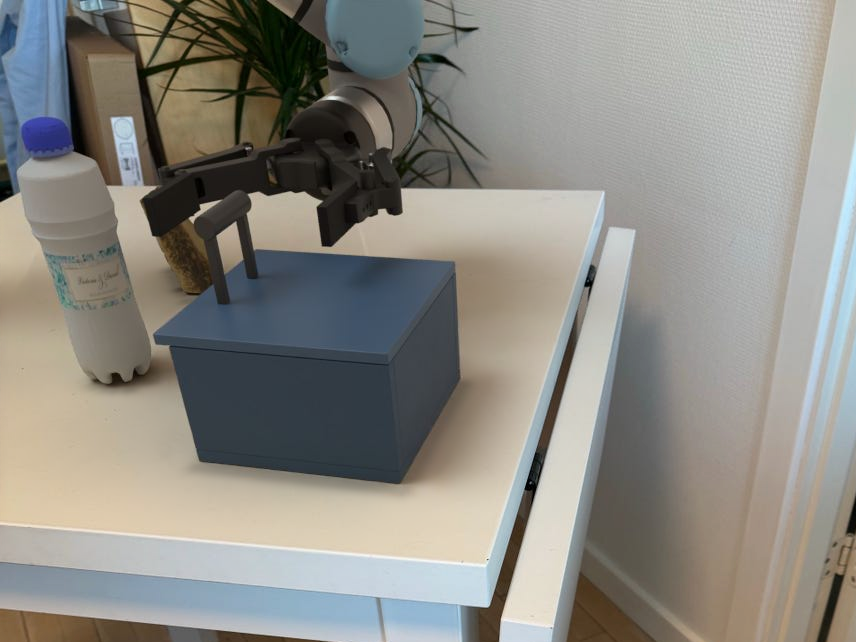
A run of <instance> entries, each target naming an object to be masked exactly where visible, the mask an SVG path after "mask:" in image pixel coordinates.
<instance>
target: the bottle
mask: <svg viewBox="0 0 856 642" xmlns="http://www.w3.org/2000/svg"><path fill="white" fill-rule="evenodd" d="M20 134H21V139H22V141H23V145H24V148H25V151H26V154H27V155H28V156H30V158H29V159H28V160H26V161H25V162H24V163H23V164H21V166H19V167H18V169H17V171H16V176H17V177H16V178H17V182H18V186H19V191H20V196H21V203H22V208H23V212H24V217H25V219H26V220H27V222H28V224H29V226H30V229H31V231H30V232H31V234H32V236H33V237H34V238H35V239H36V240H37V241H38V242H39V244H40V247H41V250H42V253H43V257H44V260H45V261H46V265H47V268H48V272H49V274H50V277H51V280H52V283H53V286H54V289H55V292H56V294H57V298H58V301H59V304H60V306H61V309H62V312H63V316H64V319H65V323H66V327H67V331H68V336H69V339H70V343H71V346H72V349H73V352H74V355H75V358H76V360H77V363H78V365H79V367H80V368H81V370H82V372H83V373H84V374H85V375H86V376H87V377H88V378H89V379H92V380H98V381H100V382H101V383H102V384H107V385H108V384H112V382H113V376H112V375H113V374H115V373H117V374H118V375H120V377H121V379H122V381H123V382H125V383H127V382H130V381H132V380H133V377H134V370H135V372H136V373H137V374H138V375H141V376H142V375H145V374H146V373H147V372H148V371H149V370H150V365H151V359H152V345H151V340H150V337H149V334H148V330H147V328H146V327H147V326H146V324H145V321H144V319H143V315H142V313H141V310H140V307H139V305H138V303H137V299H136V296H135V292H134V289H133V285H132V281H131V278H130V273H129V270H128V266H127V263H126V260H125V256H124V252H123V248H122V246H121V242H120V238H119V236H118V235H119V234H118V225H119V219H118V217H117V216H116V209H115V202H114V200H113V198H112V196H111V193H110V191H109V188H108V185H107V184H106V181H105V179H104V176H103V173H102V171H101V169H100V166H99V164H98V162H97V161H96V160H95V159H93V158H91V157H90V156H89V157H88V156H86V155H83V154H81V153H79V152H76V151H74V150H75V146H74V142H73V139H72V136H71V132H70V130H69V128H68V126H67V123H65V122H64V121H63V120H62V119H60V118H57V117H53V116H38V117H34V118H31V119H28V120H26V121H25V122H24V123H22V126H21V128H20Z"/></svg>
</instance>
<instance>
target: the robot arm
mask: <svg viewBox="0 0 856 642" xmlns="http://www.w3.org/2000/svg"><path fill="white" fill-rule="evenodd" d="M266 1H267V2H269V4H271V5H273V6H274V7H275V8H277V9H278V10H280V11H281V12H282V13H284V15H286V16H288V18H290V19H291V20H293V21H294V22H295V23H297V24H298V25H299V26H300V27H302V28H303V29H304V30H305V31H307V32H308V33H309V34H311V35H312V36H313V37H315V38H316V39H318V40H319V41H320V42H321V43H323V44H324V45H325V52H326V64H327V72H328V80H329V89H330V92H329V93H327V94H326V95H323V96H322V97H321V98H319V99H318V100H316V102H314V103H312V104H310V105H309V106H307V107H306V108H304V109H302V110H301V111H299V112H298V113H296V115H294V116H293V118H292V119H291V120H290V122H289V123H288V125H287V127H286V130H285V133H284V136H283V138H282V139H281V140H280V141H279V142H278V143H277V144H271V145H267V146H261V147H256V148H254V142H251V141H247V140H245V141H242V142H241V143H239V144H236V145H234V146H232V147H230V148H227V149H224V150H220V151H216V152H213V153H209V154H205V155H202V156H198V157H195V158H190V159H187V160H183V161H180V162H176V163H173V164H169V165H163V166H161V167H159V168H158V169H157V171H158V175H159V180H160V184H161V185H160V186H161V187H160V188H158V189H156V190H155V191H153V192H151V191H150V192H151V193H150V194H148V193H147V194H148V195H147V194H145V195H146V196H145V195H144V196H145V197H144V196H143V197H142V198H141V199H143V202H144V206H145V210H146V214H147V217H146V219H147V218H148V220H147V222H148V226H149V230H150V233H151V234H150V235H151V236H152V237H155V238H156V237H162V236H163V235H165V234H166V233H168V232H169V231H171V230H172V229H174V228H175V227H176V226H178V225H179V224H181V223H182V222H184V221H185V220H187V219H188V218H189V219H190V218H191V217H195V214H197V213H198V212H200V211H201V210H202V209H201V205H205V204H208V203H214V202H220V201H221V200H223V199H224V198H226V197H227V196H229V195H230V194H231V193H233V192H234V191H237V190H241V191H244V192H245V193H246V194H247V195H250V194H254V193H255V194H256V193H260V194H263V195H264V196H266V197H272V196H276V195H281V194H285V193H289V192H291V193H293V194H300V193H304V192H305V194H307V195H308V196H310V197H312V198H313V199H315V200H318V201H321V202H320V203H318V205H317V206H315V208H316V216H317V222H318V229H319V235H320V236H319V237H320V244H321V247H323V248H332V247H333V246H335V244H336V243H337V242H339V240H341V239H342V238H343V237H344V236H345V235H346V234H347V233H349V231H350V230H351V229H352V228H353V227H354V226H356V224H358V225H359V224H361V223H363V222H364V221H366V220H367V219H368V218H374V217H376V216H378V215H379V210H385V212H386V214H387V215H390V216H394V217H397V216H400V215H402V214H403V212H404V209H403V198H402V185H401V178H400V175H399V174H398V172H397V170H396V168H395V167H394V165H393V160H394V159H395V158H397V157H398V156H399V155H401V154H402V153H404V151H405V150H406V149H408V147H409V146H410V145H411V143H412V142H413V139H414V138H415V136H416V135H417V134H418V131H419V130H420V127H421V124H422V119H423V102H422V98H421V95H420V92H419V90H418V88H417V86H416V84H415V82H414V80H413V79H412V78H411V76H409V67H410V65H411V64H412V63H413V62H414V60H415V59H416V58H417V56H418V55H419V52H420V49H421V47H422V43H423V40H424V36H425V24H426V23H425V13H424V8H423V2H422V0H266ZM270 176H271V178H272V179H273V180H274V181H275V183H272V184H271V179H270Z"/></svg>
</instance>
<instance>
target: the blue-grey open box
mask: <svg viewBox="0 0 856 642" xmlns="http://www.w3.org/2000/svg"><path fill="white" fill-rule="evenodd" d="M457 291H458V290H457V273H456V271H455V273H454V274H453V275H452V277H451V278H450V280H449V281H448V282H447V284H446V285H445V287H444V288H443V289H442V291H441V292H440V294H439V295H438V296H437V298H436V299H435V300H434V302H433V303H432V305H431V306H430V307H429V309H428V310H427V312H426V313H425V314H424V316H423V317H422V319H421V320H420V321H419V323H418V324H417V325H416V327H415V328H414V330H413V331H412V332H411V334H410V335H409V337H408V338H407V339H406V341H405V342H404V344H403V345H402V346H401V348H400V349H399V351H398V352H397V353H396V355H395V356H394V357H393V359H392V360H391V362H390V363H389V364H388V365H385V364H374V363H362V362H351V361H339V360H328V359H316V358H305V357H293V356H282V355H270V354H259V353H247V352H236V351H224V350H213V349H201V348H190V347H178V346H168V349H169V354H170V358H171V361H172V365H173V369H174V372H175V376H176V379H177V385H178V387H179V390H180V396H181V398H182V403H183V406H184V409H185V413H186V417H187V421H188V425H189V428H190V432H191V435H192V439H193V443H194V448H195V451H196V455H197V458H198V461H199V462H206V463H216V464H222V465H223V464H224V465H233V466H241V467H250V468H258V469H259V468H260V469H266V470H267V469H268V470H277V471H284V472H295V473H301V474H302V473H304V474H313V475H321V476H329V477H337V478H338V477H339V478H348V479H355V480H364V481H374V482H383V483H391V484H399V485H400V484H401V483H402V482H403V480H404V478H405V476H406V474H407V473H408V471H409V469H410V468H411V466H412V464H413V462H414V461H415V459H416V457H417V456H418V453H419V452H420V450H421V448H422V446H423V445H424V443H425V441H426V439H427V438H428V436H429V434H430V432H431V431H432V429H433V428H434V425H435V424H436V422H437V420H438V418H440V415H441V413H442V412H443V410H444V408H445V406H446V405H447V403H448V401H449V399H450V398H451V396H452V394H453V392H454V391H455V389H456V388H457V385H458V383H459V382H460V380H461V360H460V338H459V337H460V336H459V335H460V334H459V319H458V318H459V313H458V292H457Z"/></svg>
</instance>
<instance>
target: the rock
mask: <svg viewBox="0 0 856 642" xmlns="http://www.w3.org/2000/svg"><path fill="white" fill-rule="evenodd" d="M161 186H162V185H157V186H156V187H155V188H154V189H153V190H150V191H149V192H148V193H147V194H145V195H144V196H143V197H145V196H146V195H148V194H150V193H151V192H153V191H155V190H156V189H158V188H160V187H161ZM139 203H140V205H141V208H142V210H143V213H144V215H145V218H146V219H147V221H148V218H147V214H146V210H145V206H144V202H143V199H142V198H140V199H139ZM155 239H156V242H157V244H158V246H159V249H160V251H161V252H162V253H163V254H164V259H165V260H166V262H167V264H168V265H169V267H170V269H172V271H173V272H174V274H175V275H176V277H177V279H178V283H180V287H181V289H182V291H183V292H185V293H186V294H187V293H188V294H202V293H203V292H204V291H206V290H207V289H208V288H209V287H210V286H212V285H213V280H212V276H211V271H210V267H209V262H208V258H207V253H206V249H205V244H204V240H203V239H202V238H200V237H199V236H198V235H197V234H196V232H195V230H194V222H192V220H191V219H190V218H188V219H187V220H185V221H184V222H182V223H181V224H179V225H178V226H176V227H175V228H174V229H172V230H171V231H169V232H168V233H166V234H165V235H163V236H162V237H155Z"/></svg>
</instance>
